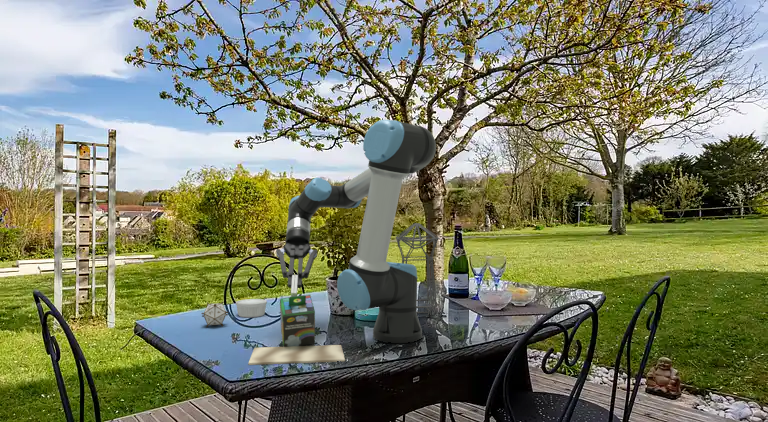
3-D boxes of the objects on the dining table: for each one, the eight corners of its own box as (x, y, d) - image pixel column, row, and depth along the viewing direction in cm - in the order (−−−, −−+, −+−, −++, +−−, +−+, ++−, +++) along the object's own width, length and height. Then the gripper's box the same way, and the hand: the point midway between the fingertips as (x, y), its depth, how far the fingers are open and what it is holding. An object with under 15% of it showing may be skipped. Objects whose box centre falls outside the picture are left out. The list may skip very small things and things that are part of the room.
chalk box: (311, 327, 146) (311, 284, 141) (315, 345, 138) (316, 300, 133) (280, 330, 143) (279, 287, 138) (282, 349, 135) (281, 304, 130)
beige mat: (341, 346, 138) (341, 344, 138) (344, 361, 124) (344, 359, 124) (254, 349, 134) (254, 347, 134) (248, 364, 120) (248, 362, 120)
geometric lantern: (441, 320, 174) (440, 223, 174) (397, 321, 174) (396, 224, 174) (436, 311, 190) (434, 222, 190) (396, 311, 190) (394, 222, 189)
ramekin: (238, 312, 185) (238, 298, 185) (268, 312, 186) (268, 298, 186) (232, 318, 173) (233, 304, 174) (264, 318, 175) (264, 303, 175)
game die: (217, 338, 160) (217, 318, 154) (195, 327, 161) (195, 307, 156) (233, 320, 167) (234, 300, 161) (212, 310, 169) (212, 290, 163)
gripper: (318, 243, 160) (316, 303, 144) (278, 242, 159) (271, 303, 142) (318, 227, 155) (316, 288, 139) (277, 226, 153) (269, 287, 137)
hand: (293, 295), depth 140 cm, fingers closed
